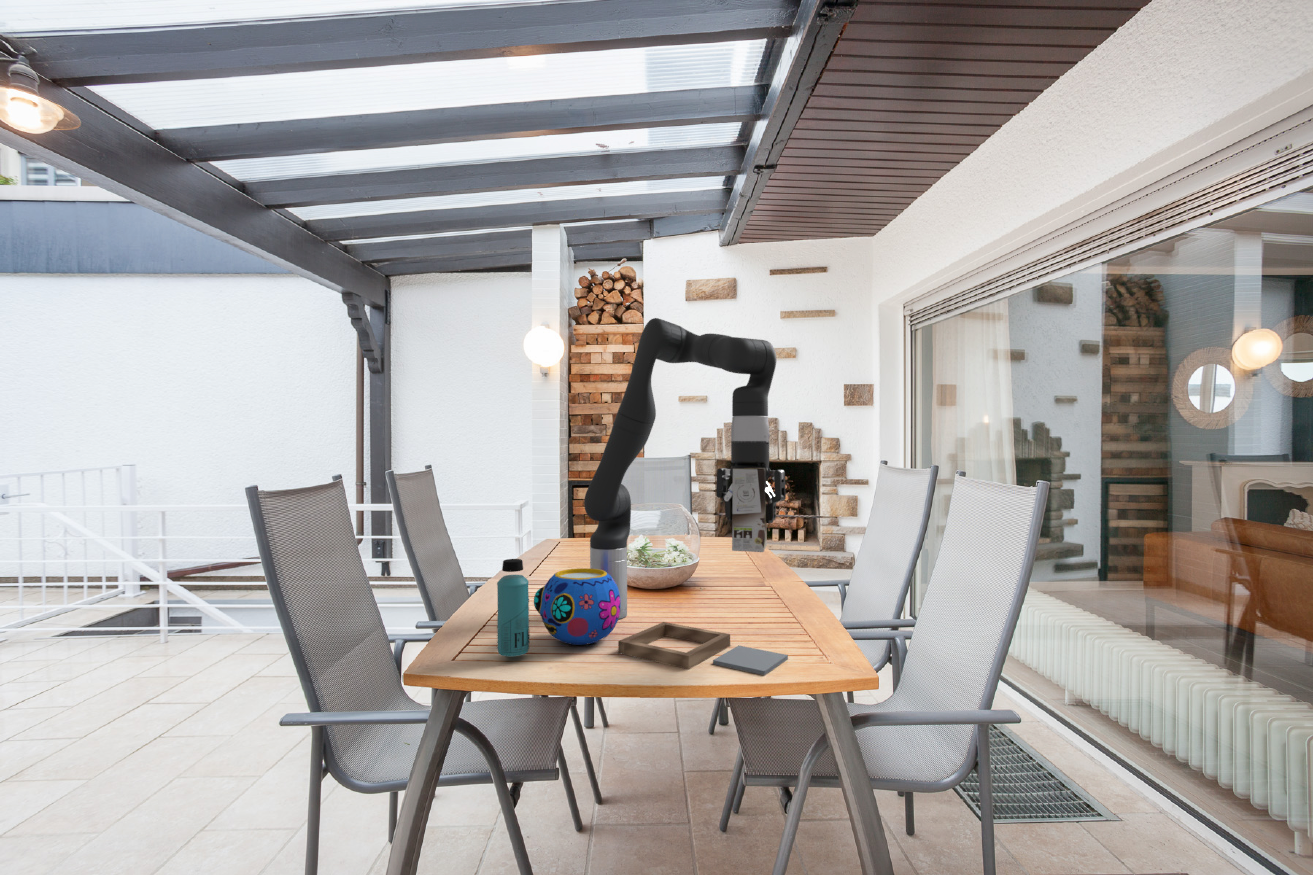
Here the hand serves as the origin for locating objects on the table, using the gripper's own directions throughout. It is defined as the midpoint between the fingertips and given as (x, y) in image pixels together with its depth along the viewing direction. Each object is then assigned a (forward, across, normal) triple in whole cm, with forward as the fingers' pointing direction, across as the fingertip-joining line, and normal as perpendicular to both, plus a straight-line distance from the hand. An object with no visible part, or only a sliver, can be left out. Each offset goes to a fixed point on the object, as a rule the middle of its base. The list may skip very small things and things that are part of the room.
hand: (750, 521), depth 130 cm
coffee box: (+6, 0, 0) cm, 6 cm away
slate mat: (+28, 0, 0) cm, 28 cm away
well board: (+28, -16, -2) cm, 32 cm away
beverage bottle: (+28, -40, -25) cm, 55 cm away
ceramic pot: (+28, -36, -9) cm, 47 cm away
